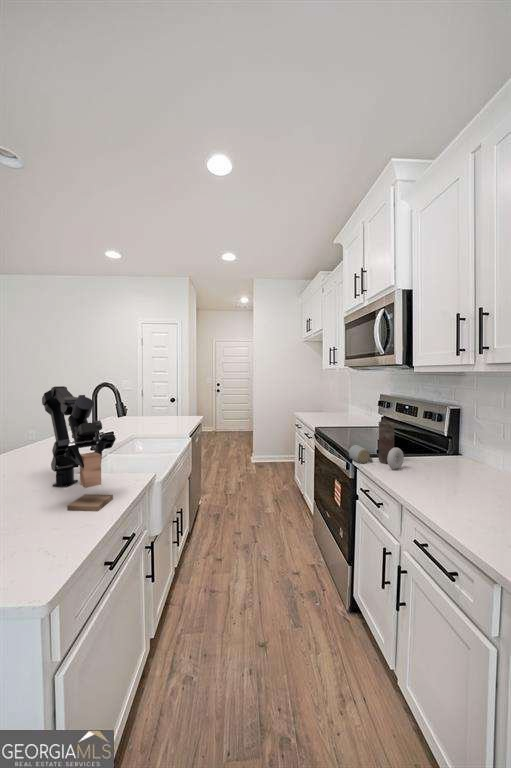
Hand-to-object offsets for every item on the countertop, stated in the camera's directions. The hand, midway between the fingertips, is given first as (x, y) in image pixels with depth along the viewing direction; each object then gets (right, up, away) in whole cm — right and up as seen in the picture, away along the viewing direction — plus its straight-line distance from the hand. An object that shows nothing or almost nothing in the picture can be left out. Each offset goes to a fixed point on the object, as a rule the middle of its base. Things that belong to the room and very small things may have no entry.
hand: (91, 465), depth 108 cm
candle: (+119, -12, +55) cm, 131 cm away
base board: (-1, -13, +2) cm, 13 cm away
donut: (+118, -13, +43) cm, 126 cm away
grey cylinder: (+107, -12, +56) cm, 121 cm away
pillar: (-1, -7, +1) cm, 7 cm away
